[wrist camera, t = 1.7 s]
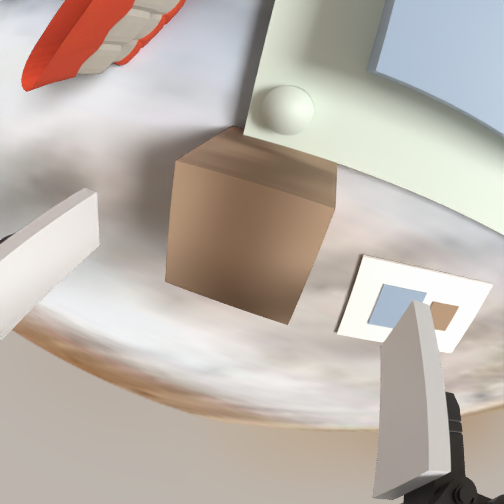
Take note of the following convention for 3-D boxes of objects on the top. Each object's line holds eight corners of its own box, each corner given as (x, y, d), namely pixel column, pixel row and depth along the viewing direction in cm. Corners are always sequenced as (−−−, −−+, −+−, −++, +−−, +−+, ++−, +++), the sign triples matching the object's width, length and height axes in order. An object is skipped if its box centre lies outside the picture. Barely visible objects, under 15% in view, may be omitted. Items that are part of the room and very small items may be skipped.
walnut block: (215, 216, 20) (165, 281, 15) (232, 125, 17) (175, 160, 11) (305, 245, 20) (287, 324, 14) (337, 156, 17) (335, 208, 11)
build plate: (249, 130, 17) (237, 138, 15) (328, -160, 4) (324, -177, 2) (548, 255, 15) (561, 273, 13) (617, 3, 2) (634, 3, 1)
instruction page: (337, 332, 23) (336, 335, 23) (363, 254, 19) (363, 257, 19) (450, 351, 21) (451, 353, 21) (491, 283, 17) (493, 286, 17)
